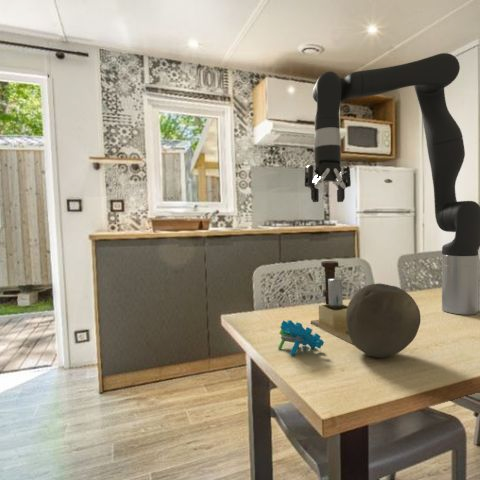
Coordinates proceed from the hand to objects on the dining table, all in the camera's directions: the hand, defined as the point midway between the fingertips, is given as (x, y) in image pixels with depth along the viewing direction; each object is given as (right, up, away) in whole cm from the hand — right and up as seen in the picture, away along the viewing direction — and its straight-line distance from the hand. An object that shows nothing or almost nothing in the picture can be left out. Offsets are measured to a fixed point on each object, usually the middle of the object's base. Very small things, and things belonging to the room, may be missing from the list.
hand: (328, 202), depth 102 cm
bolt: (+4, -34, +14) cm, 36 cm away
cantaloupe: (+4, -36, -29) cm, 46 cm away
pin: (0, -34, -8) cm, 35 cm away
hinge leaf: (+3, -35, -11) cm, 37 cm away
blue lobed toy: (-13, -36, -25) cm, 46 cm away
